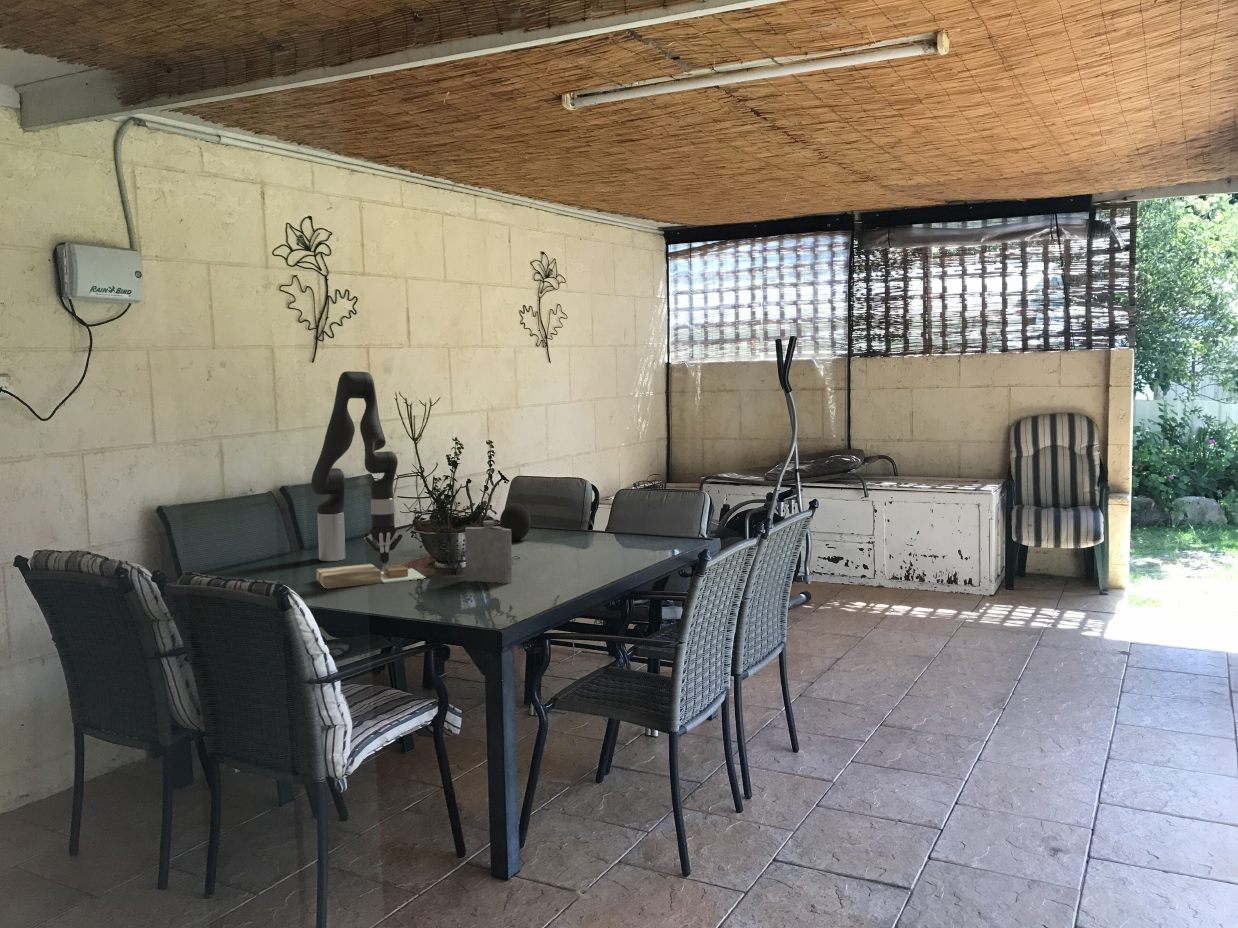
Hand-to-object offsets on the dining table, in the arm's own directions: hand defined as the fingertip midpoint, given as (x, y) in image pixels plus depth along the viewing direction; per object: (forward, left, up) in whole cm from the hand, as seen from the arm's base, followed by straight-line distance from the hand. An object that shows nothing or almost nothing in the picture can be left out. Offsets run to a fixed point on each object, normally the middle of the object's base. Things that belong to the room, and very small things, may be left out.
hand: (384, 563), depth 328 cm
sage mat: (0, +5, -5) cm, 7 cm away
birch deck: (0, -12, -5) cm, 13 cm away
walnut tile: (0, +4, -3) cm, 5 cm away
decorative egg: (-44, +64, -5) cm, 78 cm away
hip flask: (+21, +29, -5) cm, 36 cm away
